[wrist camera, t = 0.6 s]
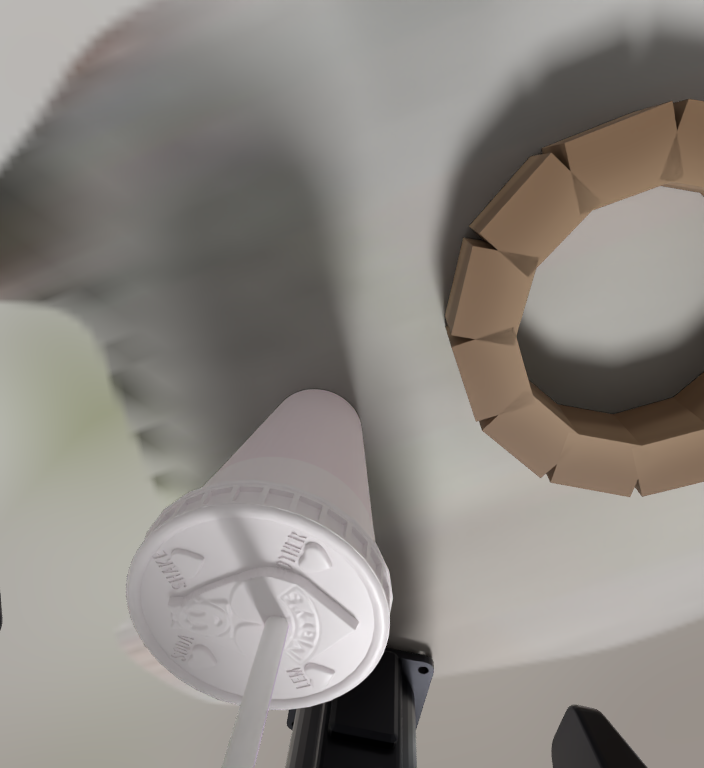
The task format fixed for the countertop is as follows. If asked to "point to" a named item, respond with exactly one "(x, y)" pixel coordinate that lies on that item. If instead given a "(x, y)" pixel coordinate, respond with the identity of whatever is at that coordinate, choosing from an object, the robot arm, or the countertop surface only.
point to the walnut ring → (510, 292)
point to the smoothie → (270, 572)
